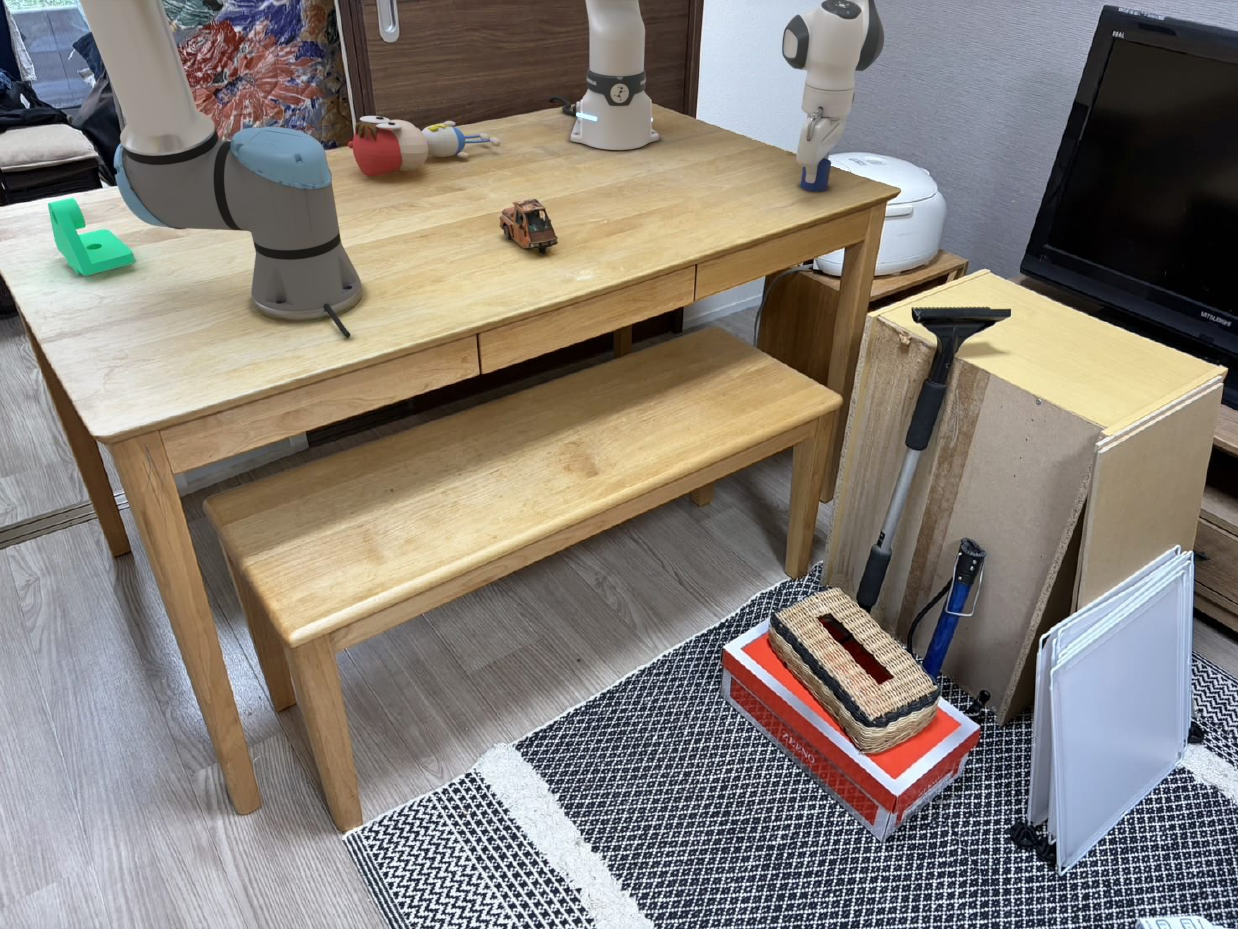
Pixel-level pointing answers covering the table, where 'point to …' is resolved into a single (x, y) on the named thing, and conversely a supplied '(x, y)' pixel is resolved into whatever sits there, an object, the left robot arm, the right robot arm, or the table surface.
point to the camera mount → (85, 241)
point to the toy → (405, 144)
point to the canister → (821, 179)
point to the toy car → (528, 225)
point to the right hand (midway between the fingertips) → (815, 176)
